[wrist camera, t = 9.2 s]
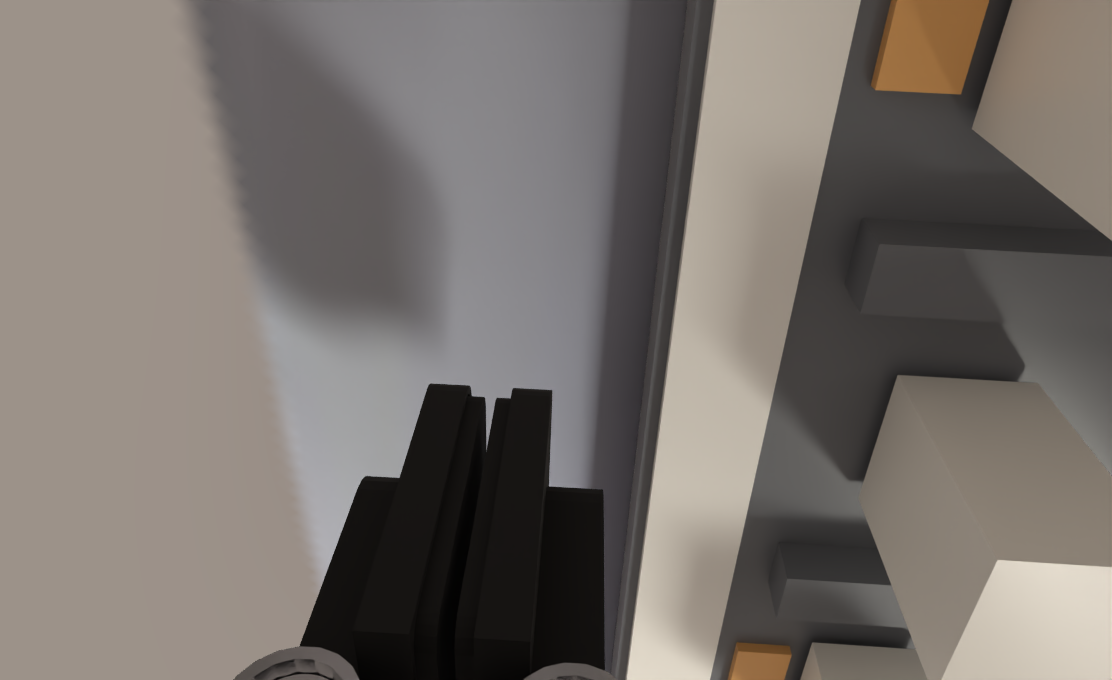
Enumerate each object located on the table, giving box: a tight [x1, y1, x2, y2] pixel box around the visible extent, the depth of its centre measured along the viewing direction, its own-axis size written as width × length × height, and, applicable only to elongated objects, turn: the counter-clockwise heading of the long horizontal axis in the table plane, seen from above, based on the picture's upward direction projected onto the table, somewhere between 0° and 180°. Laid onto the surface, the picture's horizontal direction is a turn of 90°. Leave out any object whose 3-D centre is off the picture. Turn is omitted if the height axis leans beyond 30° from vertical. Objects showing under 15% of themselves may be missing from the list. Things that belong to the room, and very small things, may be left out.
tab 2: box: [858, 375, 1112, 680], centre depth 11 cm, size 2×2×4 cm
